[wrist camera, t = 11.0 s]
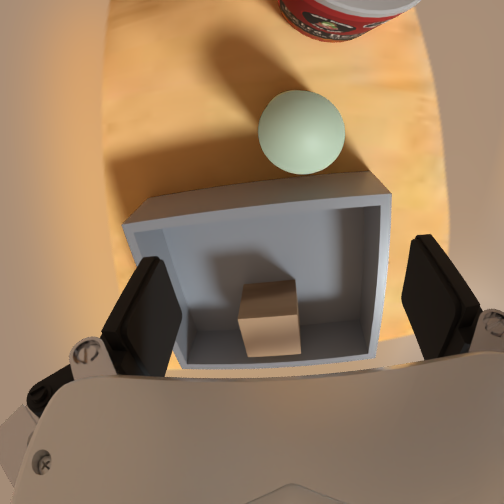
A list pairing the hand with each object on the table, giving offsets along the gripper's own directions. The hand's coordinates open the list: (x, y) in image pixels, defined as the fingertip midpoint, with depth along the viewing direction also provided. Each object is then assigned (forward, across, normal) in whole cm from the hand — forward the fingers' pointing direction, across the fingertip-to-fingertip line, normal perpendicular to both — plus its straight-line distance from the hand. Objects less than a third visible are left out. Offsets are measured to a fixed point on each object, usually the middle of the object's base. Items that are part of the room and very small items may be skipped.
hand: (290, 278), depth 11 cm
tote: (+15, +2, +10) cm, 18 cm away
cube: (+14, +2, +14) cm, 20 cm away
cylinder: (+16, -2, -3) cm, 16 cm away
